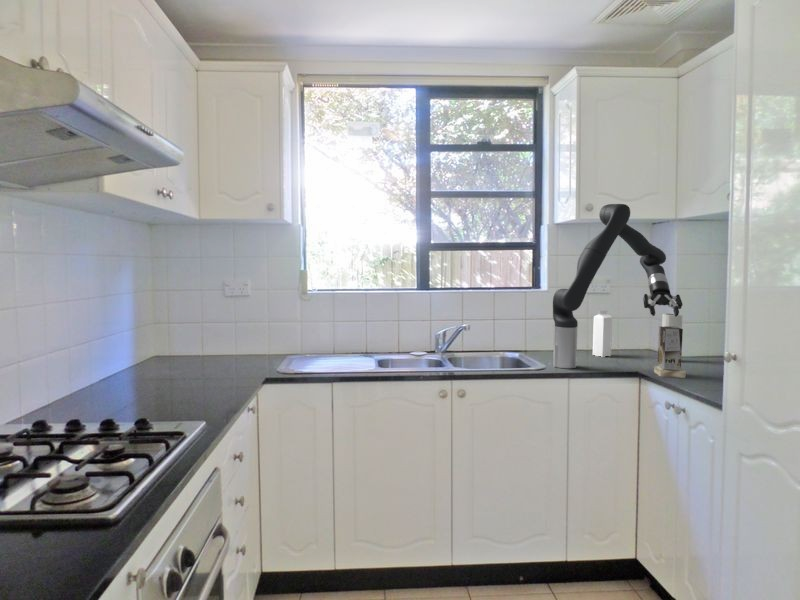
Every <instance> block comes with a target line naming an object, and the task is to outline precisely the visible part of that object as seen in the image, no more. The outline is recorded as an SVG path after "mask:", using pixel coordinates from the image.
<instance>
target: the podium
mask: <svg viewBox="0 0 800 600" xmlns="http://www.w3.org/2000/svg"><path fill="white" fill-rule="evenodd" d="M653 372H654V373H655V374H656V375H658V376H659V377H662V378H663V377H664V378H682V379H683V378H684V379H685V378H686V375H687V371H686V370H685V369H683V368H681V370H671V369H663V368H662V367H660V366H658V365H654V367H653Z"/></svg>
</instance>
